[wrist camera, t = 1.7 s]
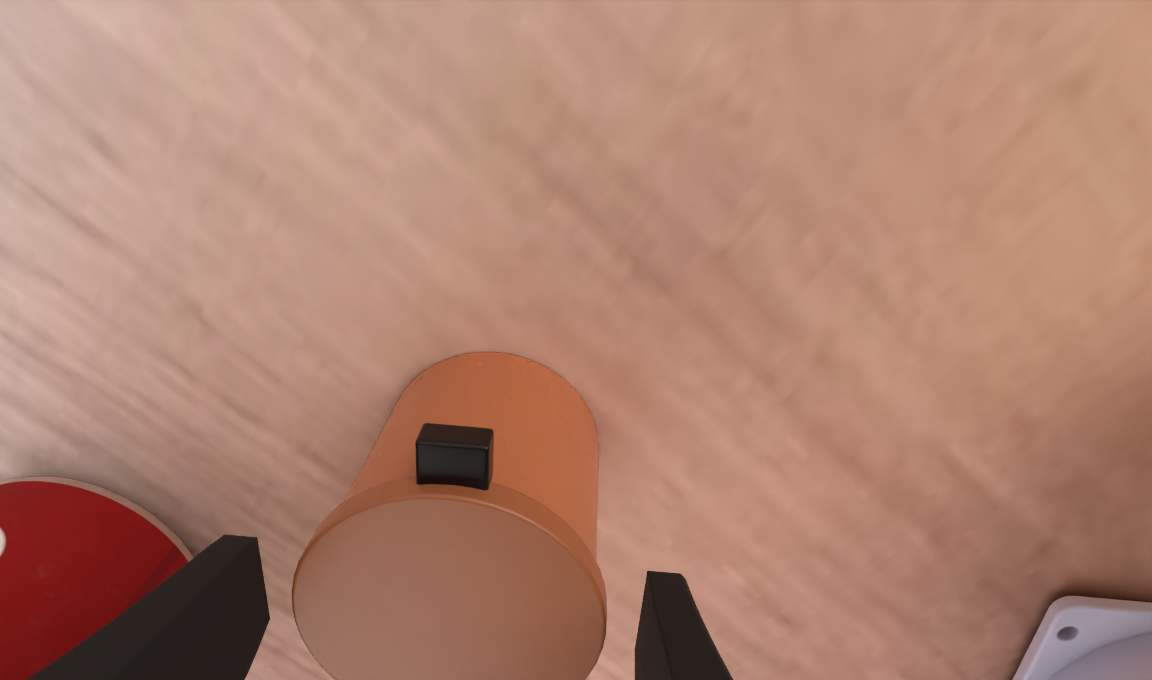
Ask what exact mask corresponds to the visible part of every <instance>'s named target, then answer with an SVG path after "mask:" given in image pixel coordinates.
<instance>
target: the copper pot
mask: <svg viewBox="0 0 1152 680" xmlns="http://www.w3.org/2000/svg"><path fill="white" fill-rule="evenodd" d="M598 453H599V442H598V434H597V429H596V426H595V422H594V419H593V417H592V415H591V413H590V410H589V408H588V407H587V405H586V404H585V402H584V400H583V399H582V398H581V396H580V395H579V394H578V393H577V392H576V390H575V389H574V388H573V387H572V386H571V385H570V384H569V383H567V382H566V381H565V380H564V379H563V378H562V377H560V376H559V375H557V374H556V373H555V372H553V371H552V370H550V369H548V368H546V367H544V366H543V365H541V364H539V363H536V362H534V361H531V360H529V359H526V358H523V357H519V356H515V355H511V354H504V353H498V352H478V353H468V354H463V355H459V356H454V357H452V358H449V359H446V360H443V361H441V362H439V363H437V364H435V365H433V366H431V367H429V368H428V369H426V370H425V371H423V372H422V373H421V374H419V375H418V376H417V377H416V378H415V379H414V380H413V381H412V382H411V383H410V384H409V385H408V386H407V388H406V389H405V390H404V391H403V393H402V394H401V396H400V398H399V400H398V402H397V403H396V405H395V407H394V409H393V411H392V413H391V415H390V417H389V418H388V420H387V422H386V424H385V426H384V428H383V430H382V432H381V433H380V435H379V437H378V439H377V441H376V443H375V445H374V447H373V448H372V450H371V452H370V454H369V456H368V458H367V460H366V462H365V463H364V465H363V467H362V469H361V471H360V473H359V475H358V477H357V478H356V480H355V482H354V484H353V486H352V488H351V490H350V491H349V493H348V495H347V497H346V499H345V501H344V503H342V504H341V505H339V506H338V507H337V508H336V509H335V510H334V511H333V512H331V513H330V514H329V515H328V516H327V517H326V518H325V519H324V521H323V522H322V523H321V524H320V526H319V527H318V528H317V529H316V531H315V533H314V535H313V537H312V538H311V540H310V542H309V544H308V546H307V547H306V549H305V551H304V553H303V555H302V556H301V558H300V560H299V562H298V565H297V568H296V571H295V574H294V579H293V587H292V605H293V612H294V617H295V621H296V625H297V627H298V630H299V632H300V635H301V637H302V639H303V641H304V643H305V644H306V646H307V648H308V650H309V651H310V653H311V654H312V655H313V657H314V658H315V659H316V660H317V662H318V663H319V664H320V665H321V666H322V667H323V668H324V669H325V670H326V672H327V673H328V674H329V675H330V676H331V677H333V678H334V679H335V680H585V679H586V678H587V677H588V675H589V674H590V672H591V671H592V669H593V667H594V666H595V664H596V663H597V660H598V658H599V656H600V653H601V651H602V649H603V645H604V640H605V636H606V620H607V599H606V591H605V584H604V581H603V578H602V574H601V571H600V568H599V566H598V564H597V562H596V552H597V502H598Z"/></svg>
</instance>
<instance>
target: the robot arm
mask: <svg viewBox="0 0 1152 680" xmlns="http://www.w3.org/2000/svg"><path fill="white" fill-rule="evenodd" d="M269 620H270V615H269V609H268V603H267V596H266V590H265V584H264V577H263V571H262V565H261V558H260V552H259V545H258V539H257V537H246V536H234V535H223V536H222V537H221V538H219V539H218V540H217V541H215V542H214V543H213V544H211V545H210V546H209V547H207V548H206V549H205V550H204V551H202V552H201V553H200V554H198V555H197V556H196V557H195V558H193V559H192V560H191V561H189V562H188V563H187V564H186V565H184V566H183V567H182V568H180V569H179V570H178V571H177V572H175V573H174V574H173V575H171V576H170V577H169V578H168V579H166V580H165V581H164V582H162V583H161V584H160V585H159V586H157V587H156V588H155V589H153V590H152V591H151V592H149V593H148V594H147V595H146V596H144V597H143V598H142V599H140V600H139V601H138V602H136V603H135V604H134V605H132V606H131V607H130V608H128V609H127V610H126V611H124V612H123V613H122V614H120V615H119V616H118V617H116V618H115V619H114V620H112V621H111V622H109V623H108V624H107V625H105V626H104V627H102V628H101V629H99V630H98V631H97V632H95V633H94V634H92V635H91V636H89V637H88V638H87V639H85V640H84V641H82V642H81V643H80V644H78V645H77V646H75V647H74V648H72V649H71V650H70V651H68V652H67V653H65V654H64V655H62V656H61V657H60V658H58V659H57V660H55V661H54V662H52V663H51V664H49V665H48V666H46V667H45V668H43V669H42V670H40V671H39V672H37V673H35V674H34V675H32V676H31V677H29V678H28V679H26V680H244V679H245V677H246V676H247V674H248V671H249V669H250V667H251V664H252V662H253V660H254V657H255V655H256V653H257V650H258V648H259V645H260V643H261V640H262V638H263V635H264V633H265V630H266V627H267V625H268V622H269ZM635 680H733V679H732V677H731V675H730V673H729V671H728V669H727V667H726V666H725V664H724V662H723V660H722V658H721V656H720V654H719V653H718V651H717V649H716V647H715V645H714V643H713V641H712V639H711V637H710V635H709V633H708V630H707V628H706V626H705V624H704V622H703V620H702V618H701V616H700V613H699V611H698V609H697V607H696V604H695V602H694V600H693V597H692V595H691V592H690V590H689V587H688V584H687V582H686V579H685V578H684V577H683V576H682V575H681V574H678V573H666V572H654V571H647V577H646V584H645V590H644V596H643V602H642V608H641V615H640V621H639V627H638V633H637V640H636V646H635ZM1012 680H1152V603H1151V602H1140V601H1128V600H1117V599H1106V598H1094V597H1083V596H1065V597H1061V598H1059V599H1057V600H1056V601H1054V602H1053V603H1052V604H1051V605H1050V607H1049V608H1048V610H1047V612H1046V614H1045V616H1044V618H1043V620H1042V622H1041V624H1040V626H1039V628H1038V630H1037V632H1036V634H1035V636H1034V638H1033V640H1032V642H1031V644H1030V646H1029V648H1028V650H1027V652H1026V654H1025V656H1024V658H1023V660H1022V662H1021V664H1020V666H1019V668H1018V670H1017V672H1016V674H1015V676H1014V677H1013V679H1012Z"/></svg>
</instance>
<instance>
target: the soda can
mask: <svg viewBox="0 0 1152 680" xmlns="http://www.w3.org/2000/svg"><path fill="white" fill-rule="evenodd" d="M193 558H194V557H193V556H192V554H191V553H190V551H189V550H188V548H187V547H186V546H185V545H184V543H183V542H182V541H181V540H180V539H179V537H178V536H177V535H176V534H175V533H174V532H173V531H172V530H171V529H170V528H168V527H167V526H166V525H165V524H164V523H163V522H162V521H160V520H159V519H158V518H157V517H155V516H154V515H153V514H151V513H150V512H148V511H147V510H145V509H144V508H142V507H141V506H139V505H137V504H136V503H134V502H132V501H130V500H129V499H127V498H125V497H123V496H121V495H118V494H116V493H114V492H112V491H109V490H107V489H104V488H101V487H98V486H95V485H92V484H89V483H85V482H81V481H77V480H72V479H67V478H59V477H48V476H33V477H21V478H14V479H9V480H5V481H2V482H0V680H26V679H28V678H29V677H31V676H32V675H34V674H35V673H37V672H39V671H40V670H42V669H43V668H45V667H46V666H48V665H49V664H51V663H52V662H54V661H55V660H57V659H58V658H60V657H61V656H62V655H64V654H65V653H67V652H68V651H70V650H71V649H72V648H74V647H75V646H77V645H78V644H80V643H81V642H82V641H84V640H85V639H87V638H88V637H89V636H91V635H92V634H94V633H95V632H97V631H98V630H99V629H101V628H102V627H104V626H105V625H107V624H108V623H109V622H111V621H112V620H114V619H115V618H116V617H118V616H119V615H120V614H122V613H123V612H124V611H126V610H127V609H128V608H130V607H131V606H132V605H134V604H135V603H136V602H138V601H139V600H140V599H142V598H143V597H144V596H146V595H147V594H148V593H149V592H151V591H152V590H153V589H155V588H156V587H157V586H159V585H160V584H161V583H162V582H164V581H165V580H166V579H168V578H169V577H170V576H171V575H173V574H174V573H175V572H177V571H178V570H179V569H180V568H182V567H183V566H184V565H186V564H187V563H188V562H189V561H191V560H192V559H193Z"/></svg>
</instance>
